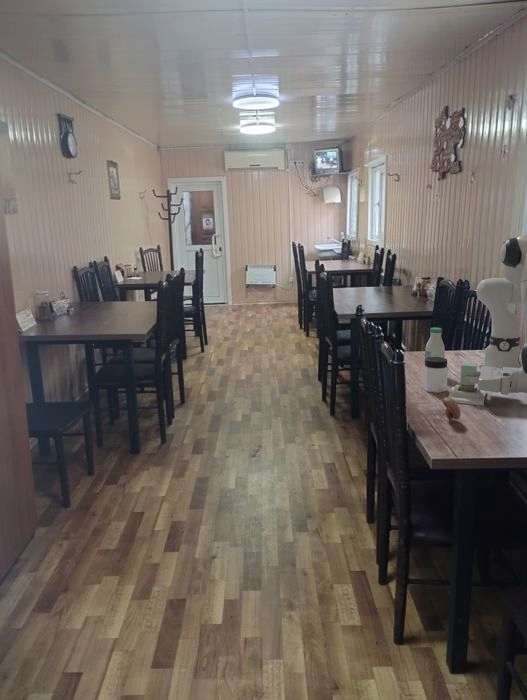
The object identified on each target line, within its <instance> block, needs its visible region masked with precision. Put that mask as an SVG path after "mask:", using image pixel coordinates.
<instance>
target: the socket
mask: <svg viewBox="0 0 527 700" xmlns="http://www.w3.org/2000/svg"><path fill="white" fill-rule="evenodd" d="M486 392H487V391H484V390H480V389H478V386H475V388H474V392H464V391H461V384H455V386H451V389H450V390H449V393H448V396H447V397H449V398H452V399H453V400H454V401H455V402H456V404H463V405H464V404H465V405H474V406H484V404H485V399H486V394H487V393H486Z"/></svg>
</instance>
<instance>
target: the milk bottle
mask: <svg viewBox="0 0 527 700" xmlns="http://www.w3.org/2000/svg"><path fill="white" fill-rule="evenodd" d="M429 331H430V333H429V334H430V335H429V336H430V337H429V339H428V341H427V343H426V345H425V349H424V350H425V351H424V352H425V353H424V359H425V358H427V357H442V358H445V354H446V353H445V351H446V349H445V344H444V341H443V339H442V334H443V328H441V327H430V330H429Z"/></svg>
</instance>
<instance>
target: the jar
mask: <svg viewBox="0 0 527 700" xmlns="http://www.w3.org/2000/svg"><path fill="white" fill-rule="evenodd" d="M422 371H423V372H422V374H423V376H422V389H423V390H424V391H426V392H427V393H436V394H440V393H443V392H447V390H448V389H447V388H448V372H449V367H448V358H446V357H444V358H442V357H427V358H425V357H424V365H423V370H422Z"/></svg>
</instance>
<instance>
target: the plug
mask: <svg viewBox="0 0 527 700" xmlns="http://www.w3.org/2000/svg"><path fill="white" fill-rule="evenodd" d="M477 371H478V362H469V361H468V362H467V361H462V362H461V366H460V378H459V379H460V382H459V385H461V391H464V392H474V388H475V387H476V383H472V382H468V381H465V376H472V377H476V372H477Z"/></svg>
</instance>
